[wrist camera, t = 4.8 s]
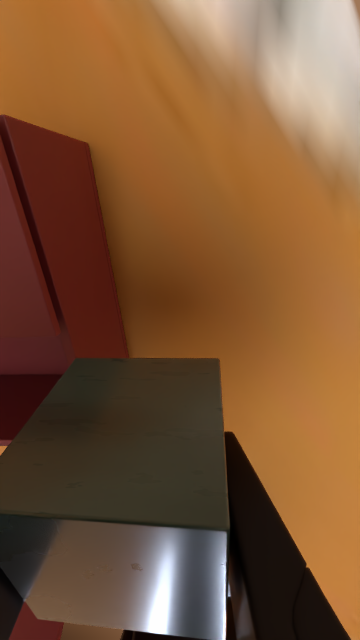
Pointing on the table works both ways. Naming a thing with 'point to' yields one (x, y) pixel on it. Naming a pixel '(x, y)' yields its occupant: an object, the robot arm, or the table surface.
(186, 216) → the table surface
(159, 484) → the block
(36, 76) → the table surface
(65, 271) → the dark red open box
